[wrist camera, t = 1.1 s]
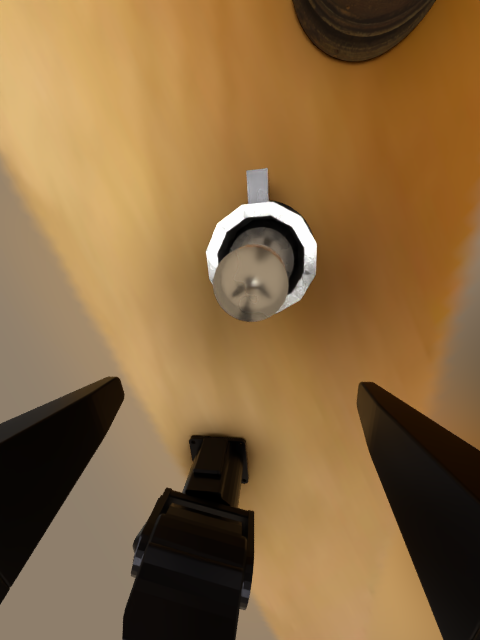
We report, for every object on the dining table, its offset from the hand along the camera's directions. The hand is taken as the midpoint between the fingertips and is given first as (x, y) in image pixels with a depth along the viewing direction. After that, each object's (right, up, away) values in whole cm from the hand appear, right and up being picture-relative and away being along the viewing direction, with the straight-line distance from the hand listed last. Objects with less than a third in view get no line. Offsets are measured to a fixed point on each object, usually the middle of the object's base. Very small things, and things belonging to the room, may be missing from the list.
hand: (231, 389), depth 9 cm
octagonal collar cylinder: (+2, +8, +11) cm, 14 cm away
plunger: (+2, +6, +7) cm, 10 cm away
